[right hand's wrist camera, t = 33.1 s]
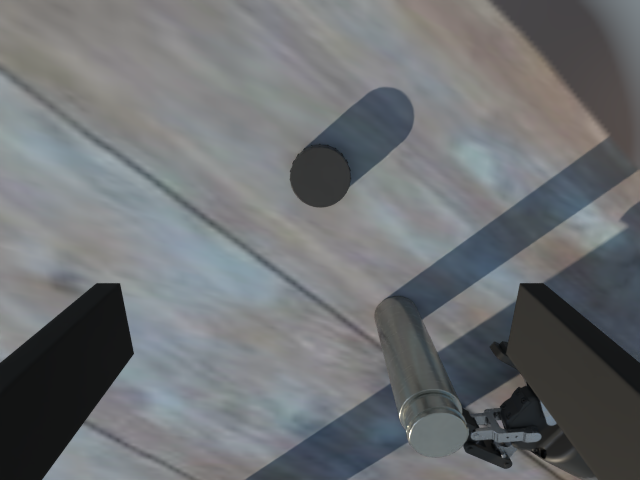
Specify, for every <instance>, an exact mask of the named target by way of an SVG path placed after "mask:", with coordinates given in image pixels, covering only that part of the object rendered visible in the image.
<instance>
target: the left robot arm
mask: <svg viewBox="0 0 640 480" xmlns="http://www.w3.org/2000/svg"><path fill="white" fill-rule="evenodd" d="M507 347H508V342H501V343H500V344H498V343H497V342H493V344H492V345H491V346H490V348H491V350H492V351H493V353H494V354H495V356H496V357H497V358H498V359H500V360H501V361H503V362H505V363H506V364H508V365H510V366H512V367H514V368H515V369H517V368H516V367H515V365H514V364H513V363H512V361H511V360H510V358H509V357H508V356H507V354H506V352H507ZM517 370H518V369H517ZM524 382H525V385H526V386H524V387H522V388H520V387H518V388H517V389H516V390H515V391H514V393H513V394H512V396H511V398H509V399H508V400H506V401H505V402H504V403H503V404H502V405H501V406H500V408H494V409H486V410H484V413H476V414H469V412H468V411H467V410H465V409H463V408H462V415H463V416H464V418H465V421H466V426H467V427H468V428H469V435H468V438H467V441H466V442H465V443H464V445H463V446H464V449H465V452H466V453H469V454H471V455H473V456H476V457H478V458H480V459H483V460H485V461H487V462H490V463H492V464H495V465H497V466H499V467H502V468H504V469H507V468H510V467H511V466H512V462H511V460H510V457H511V455H512V454H513V453H514V452H515V451H516V450H517V449H519V450H529V451H531V452H533V453H534V454H535V455H537V456H538V457H540V458H541V459H543V460H544V461H546V462H548V463H550V464H552V465H554V466H556V467H558V468H560V469H562V470H564V471H566V472H568V473H570V474H572V475H574V476H576V477H578V478H580V479H581V480H598V479H597V478H596V476H595V475H594V473H593V472H592V471H591V469H590V468H589V467H588V465H587V464H586V463H585V461H584V460H583V458H582V457H581V456H580V454H579V453H578V452H577V450H576V449H575V447H574V446H573V445H572V443H571V442H570V441H569V439H568V438H567V437H566V435H565V434H564V432H563V431H562V430H561V428H560V427H559V426H558V424H557V423H556V421H555V420H554V419H553V417H552V416H551V415H550V413H549V412H548V410H547V409H546V408H545V406H544V405H543V404H542V402H541V401H540V400H539V398H538V397H537V395H536V394H535V393H534V391H533V390H532V389H531V387H530V386H529V384H528V383H527V382H526V380H525V379H524ZM496 420H502V423H503V426H504V429H502V428H500V426H499V425H498V423H497V421H496ZM478 425H486V426H487V427H484V428H479V426H478Z"/></svg>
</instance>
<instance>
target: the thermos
mask: <svg viewBox="0 0 640 480" xmlns="http://www.w3.org/2000/svg"><path fill="white" fill-rule="evenodd" d="M375 322H376V326H377V330H378V334H379V338H380V342H381V346H382V350H383V355H384V359H385V363H386V367H387V371H388V375H389V379H390V383H391V387H392V391H393V395H394V399H395V403H396V407H397V411H398V415H399V419H400V422H401V424H402V426H403V428H404V429H405V430H406V437H407V440H408V442H409V444H410V445H411V446H412V447H413V449H414V450H415V451H416V452H418V453H419V454H421V455H424V456H427V457H435V458H436V457H444V456H448V455H450V454H453V453H454V452H456V451H457V450H459V449H460V448H461V447H462V446H463V445H464V443H465V442H466V441H467V438H468V435H469V428H468V427H467V426H466V421H465V418H464V416H463V415H462V406H461V403H460V401H459V399H458V397H457V394H456V392H455V390H454V388H453V386H452V384H451V381H450V379H449V377H448V375H447V373H446V371H445V368H444V366H443V364H442V362H441V360H440V358H439V355H438V353H437V351H436V349H435V347H434V345H433V342H432V340H431V338H430V336H429V334H428V332H427V329H426V327H425V325H424V323H423V321H422V319H421V317H420V314H419V312H418V310H417V308H416V306H415V304H414V303H413V302H412V301H411V300H409V299H407V298H405V297H401V296H394V297H390V298H387V299H385V300H384V301H382V302H381V303H380V304H379V305H378V307H377V308H376V311H375Z"/></svg>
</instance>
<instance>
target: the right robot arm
mask: <svg viewBox="0 0 640 480" xmlns="http://www.w3.org/2000/svg"><path fill="white" fill-rule="evenodd" d="M133 354H134V352H133V347H132V342H131V337H130V332H129V326H128V321H127V316H126V311H125V306H124V301H123V296H122V291H121V286H120V283H96V284H95V285H94V286H93V287H92V288H90V289H89V290H88V291H87V292H86V293H84V294H83V295H82V296H81V297H80V298H78V299H77V300H76V301H75V302H73V303H72V304H71V305H70V306H69V307H67V308H66V309H65V310H64V311H63V312H61V313H60V314H59V315H58V316H57V317H55V318H54V319H53V320H52V321H50V322H49V323H48V324H47V325H46V326H44V327H43V328H42V329H41V330H40V331H38V332H37V333H36V334H35V335H34V336H32V337H31V338H30V339H29V340H27V341H26V342H25V343H24V344H23V345H21V346H20V347H19V348H18V349H17V350H15V351H14V352H13V353H12V354H11V355H9V356H8V357H7V358H6V359H4V360H3V361H2V362H1V363H0V480H42V479H43V478H44V476H45V475H46V473H47V472H48V471H49V469H50V468H51V467H52V465H53V464H54V463H55V461H56V460H57V458H58V457H59V456H60V454H61V453H62V452H63V450H64V449H65V447H66V446H67V445H68V443H69V442H70V441H71V439H72V438H73V437H74V435H75V434H76V432H77V431H78V430H79V428H80V427H81V426H82V424H83V423H84V421H85V420H86V419H87V417H88V416H89V415H90V413H91V412H92V410H93V409H94V408H95V406H96V405H97V404H98V402H99V401H100V400H101V398H102V397H103V395H104V394H105V393H106V391H107V390H108V389H109V387H110V386H111V384H112V383H113V382H114V380H115V379H116V378H117V376H118V375H119V373H120V372H121V371H122V369H123V368H124V367H125V365H126V364H127V363H128V361H129V360H130V358H131V357H132V356H133ZM506 354H507V356H508V357H509V358H510V360H511V361H512V363H513V364H514V365H515V367H516V368H517V369H518V371H519V372H520V373H521V375H522V376H523V378H524V379H525V380H526V382H527V383H528V384H529V386H530V387H531V389H532V390H533V391H534V393H535V394H536V395H537V397H538V398H539V400H540V401H541V402H542V404H543V405H544V406H545V408H546V409H547V410H548V412H549V413H550V415H551V416H552V417H553V419H554V420H555V421H556V423H557V424H558V426H559V427H560V428H561V430H562V431H563V432H564V434H565V435H566V437H567V438H568V439H569V441H570V442H571V443H572V445H573V446H574V447H575V449H576V450H577V452H578V453H579V454H580V456H581V457H582V458H583V460H584V461H585V463H586V464H587V465H588V467H589V468H590V469H591V471H592V472H593V473H594V475H595V476H596V478H597V479H598V480H640V363H639V362H638V361H637V360H636V359H634V358H633V357H632V356H631V355H629V354H628V353H627V352H626V351H625V350H623V349H622V348H621V347H620V346H619V345H617V344H616V343H615V342H614V341H613V340H611V339H610V338H609V337H608V336H606V335H605V334H604V333H603V332H602V331H600V330H599V329H598V328H597V327H596V326H594V325H593V324H592V323H591V322H590V321H588V320H587V319H586V318H585V317H583V316H582V315H581V314H580V313H579V312H577V311H576V310H575V309H574V308H573V307H571V306H570V305H569V304H568V303H567V302H565V301H564V300H563V299H562V298H560V297H559V296H558V295H557V294H556V293H554V292H553V291H552V290H551V289H550V288H548V287H547V286H546V285H545V284H544V283H520V286H519V291H518V296H517V301H516V306H515V311H514V316H513V321H512V326H511V332H510V337H509V342H508V347H507V352H506Z"/></svg>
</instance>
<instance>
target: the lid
mask: <svg viewBox="0 0 640 480" xmlns="http://www.w3.org/2000/svg"><path fill="white" fill-rule="evenodd" d="M347 163H348V162H347V160H345V158H344V156H343V154H342V153H340V152H339V151H338V150H336V148H333V147H330V146H329V145H320V144H319V145H314V146H312V145H311V146H310V147H308V148H306V149H305V148H304V150H303V151H302V152H301V153H300V154H298V155H297V157H296V159H295V161H293V163H292V164H293V166H292V168H291V170H290V172H291V173H290V182H291V186H292V189H293V191H294V193H295V194H296V196H297V197H298V198H299V199H300V200H301V201H302V202H304V203H306V204H308V205H310V206H313V207H327V206H331V205H333V204H335V203H337V202H338V201H340V200H341V199H342V198H343V197H344V195H345V194H346V192H347V190H348V188H349V185H350V179H351V176H350V168H349V166H348V164H347Z"/></svg>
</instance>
